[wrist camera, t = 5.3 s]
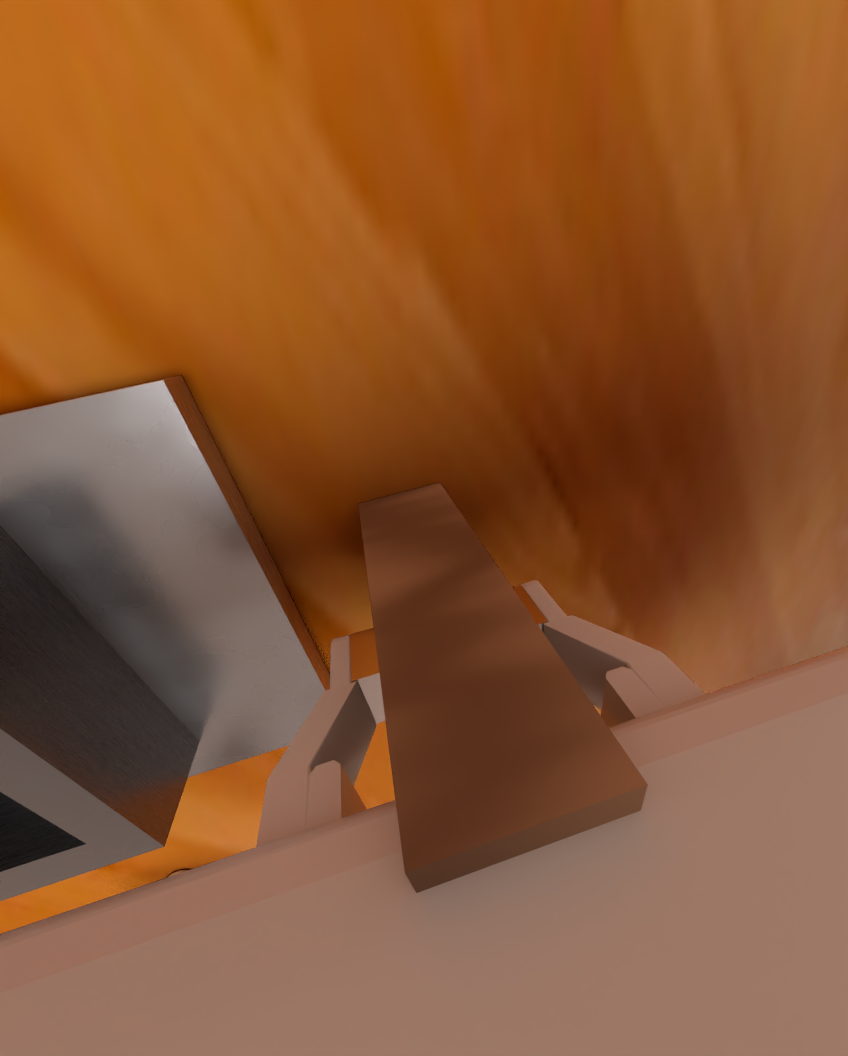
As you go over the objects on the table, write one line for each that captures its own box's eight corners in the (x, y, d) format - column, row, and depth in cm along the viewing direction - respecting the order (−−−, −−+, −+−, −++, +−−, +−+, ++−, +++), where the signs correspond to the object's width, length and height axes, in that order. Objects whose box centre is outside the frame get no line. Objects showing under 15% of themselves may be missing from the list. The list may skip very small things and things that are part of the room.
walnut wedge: (440, 482, 13) (648, 784, 4) (458, 588, 15) (612, 911, 7) (358, 503, 13) (405, 873, 4) (390, 607, 15) (461, 971, 7)
